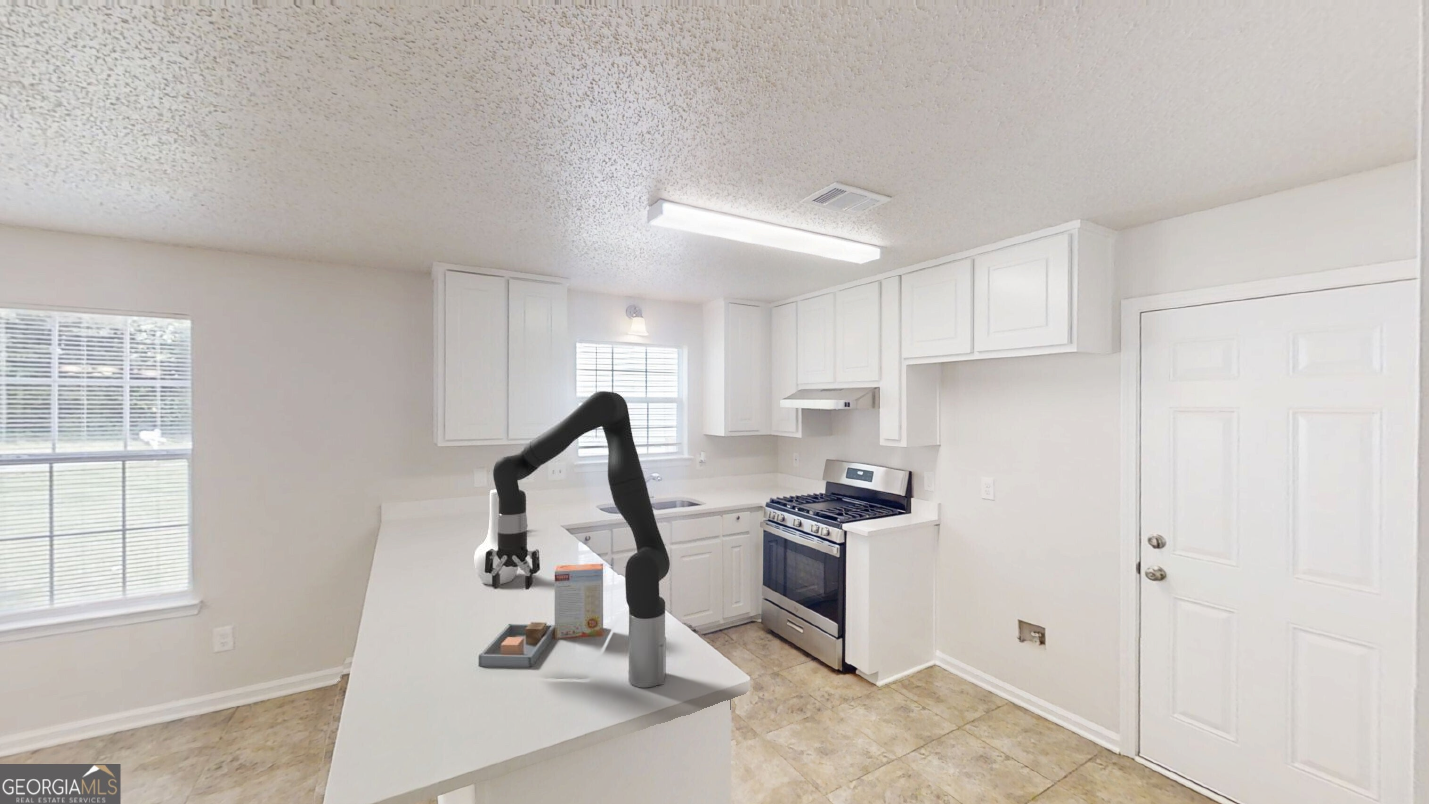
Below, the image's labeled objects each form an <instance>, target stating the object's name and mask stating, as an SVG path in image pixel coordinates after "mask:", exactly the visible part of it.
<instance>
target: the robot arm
mask: <svg viewBox="0 0 1429 804" xmlns="http://www.w3.org/2000/svg"><path fill="white" fill-rule="evenodd" d="M600 427H602V431H603V433H604V436H605V439H606V443H607V451H608V454H607V455H608V458H607V481H608V485H609V489H610V493H611V497H612V500H613V501H612V502H613V503H614V505H615V508H616V509H617V511H618V512H619V514H620V515H621V516H622V518H623V519H624V520H625V521H626V523H627V525H628V527H629V528H630V530H631V532H632V535H633V538H634V542H635V546H636V552H635V553H633V554H632V555H630V557H629V558H628V559H627V562H626V564H625V565H626V566H625V571H624V580H625V582H624V583H625V584H624V585H625V586H624V587H625V600H626V604H627V606H628V670H627V672H628V682H629V683H630V684H631V686H634V687H638V688H654V687H656V686H660V685H662V686H663V685H664V683H665V679H666V678H665V677H666V674H667V636H666V601H665V599H664V598H663V597H661V596H660V581H661V580H663V579H664V578H665V577H666V576H667V575H668V573H669V571H670V566H671V564H670V563H671V562H670V557H669V553H668V551H667V549H666V545H665V542H664V540H663V538H662V535H661V532H660V530H659V527H658V524H657V521H656V516H655V513H654V508H653V505H652V503H651V498H650V495H649V491H648V490H649V489H648V485H647V482H646V478H645V474H644V471H643V468H642V464H641V461H640V458H639V454H638V451H637V447H636V444H635V440H634V438H633V431H632V425H631V418H630V411H629V407H628V404H627V402H626V399H625V398H624V397H623V396H622V395H621V394H619V393H617V392H614V391H613V392H612V391H606V390H605V391H604V390H602V391H597V392H594V393H592V394H591V395H590V396H589V397H587V399H586V400H584V401H583V402H582V403H581V404H580V405H579V406H578V407H577V408H575V409H574V411H572V412H571V413H570V414H569V415H568V416H566V417H565V418H564V419H563V420H562V421H560V422H558V423H557V424H556V425H553V426H552V427H551V428H550V429H548V430H546V431H545V432H543V433H542V434H540V435H539V436H537V437H535V438H534V439H532V440H531V441H529V442H528V443H526V445H525V446H524V447H523V450H521V451H520V452H518V453H516V454H514V455H508V456H503V457H500V458H498V460H497V461H495V464H494V466H493V470H492V476H493V482H494V486H495V490H496V491H497V494H498V497H499V516H498V550H497V551H496V550H493V549H490V550H488V551H487V552H486V557H485V573H490V574H491V575H492V585H491V586H492V587H493V589H494V590H498V589H499V588H500V587H501V584H500V573H499V571H500V570H501V569H502V567H503V566H505V567H518V566H519V567H518V568H519V569H520V570H521V571H523V573H524V574H525V576H524V580H525V581H524V584H525V585H524V586H525V587H524V588H525V590H530V589H531V587H532V586H533V585H534V584H533V581H534V579H533V578H534V576H533V575H535V574H537V573H538V572H539V571H540V570H541V563H540V562H541V561H540V551H539V549H538V548H537V549H534V550H528V516H527V496H526V495H527V494H526V492H525V491H524V490H521V489H520V487H519V481H521V480H523V479H525V478H527V477H528V476H530V475H532V474H533V473H535V472H536V471H537V470H538V469H539V468H540V467H541V466H542V465H545V464H546V463H548V462H549V461H551V460H552V459H554V458H556V457H557V456H558V455H560V454H561V453H563V452H564V451H566V450H567V448H569V447H570V445H571V444H573V442H575V441H576V440H578V438H580V437H581V436H583V435H585V434H586V433H589V432H591V431H594V430H596V429H598V428H600ZM495 556H497V557H498V558H499V560H500V561H499V563H498V564H497V565H496V567H495V568H493V559H494V557H495ZM527 557H529V559H530V560H531V564H530V562H529V561H528V559H527Z"/></svg>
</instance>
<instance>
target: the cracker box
mask: <svg viewBox="0 0 1429 804" xmlns="http://www.w3.org/2000/svg"><path fill="white" fill-rule="evenodd" d="M554 625H555V635H554V639H571V638H573V639H574V638H586V637H587V638H588V637H589V638H591V637H601V636H602V637H603V634H604V564H603V563H585V564H567V565H566V564H565V565H556V568H555V571H554Z"/></svg>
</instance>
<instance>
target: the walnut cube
mask: <svg viewBox="0 0 1429 804" xmlns="http://www.w3.org/2000/svg"><path fill="white" fill-rule="evenodd" d="M546 625H547V622H537V621H535V622H534V621H530V623H529V626H528V627H527V628H526V644H529V645H538V643H539V642H540V641H541V639H542V638H543V637H544V635H545V634H546Z"/></svg>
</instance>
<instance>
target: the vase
mask: <svg viewBox="0 0 1429 804" xmlns="http://www.w3.org/2000/svg"><path fill="white" fill-rule="evenodd" d="M498 516H499V497H498V494H497V491H496V489H491V490H490V491H489V522H488V523H489V524H488V531H487V536H486V539H485V540H484V542H482V543H481V544H480V545H479V546H478V547H477V549H475V552H474V557H473V558H474V559H473V560H474V566H475V570H476V574H477V576H478V578H479V580H480V582H481V583H483V584H484V585H487V586H488V585H489V586H492V575H491V574H490V573H485V557H486V552H487V551H488V550H490V549H493V550H496V551H497V550H498ZM499 561H500V560H499V558H498V557H497V556H495V557H494V559H493V568H495V567H496V565H497V564H498V563H499ZM519 568H520V567H519V566H518V567H505V566H503V567H502V569H501V570H500V571H499V573H500V585H503V584H506V583H509V582H511V581H512V580H513V579H514V578H515V576H516V574H517V573H518V570H519Z"/></svg>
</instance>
